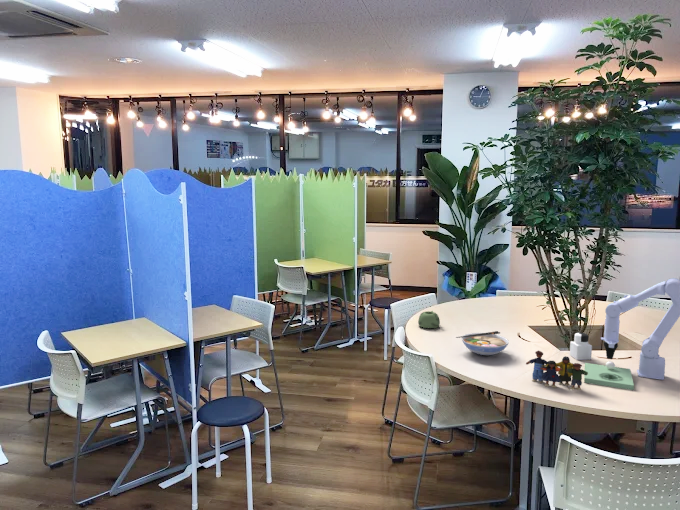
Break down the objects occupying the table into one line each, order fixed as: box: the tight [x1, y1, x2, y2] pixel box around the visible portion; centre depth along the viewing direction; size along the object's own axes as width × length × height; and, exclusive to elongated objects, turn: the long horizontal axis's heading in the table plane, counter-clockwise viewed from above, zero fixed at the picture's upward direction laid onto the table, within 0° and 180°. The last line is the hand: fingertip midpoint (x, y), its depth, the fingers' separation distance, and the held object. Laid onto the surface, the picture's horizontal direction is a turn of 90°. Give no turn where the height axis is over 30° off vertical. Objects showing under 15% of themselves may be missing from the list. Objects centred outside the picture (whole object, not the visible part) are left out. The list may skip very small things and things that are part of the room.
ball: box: [605, 360, 616, 369], centre depth 215 cm, size 4×4×4 cm
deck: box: [583, 362, 635, 391], centre depth 211 cm, size 18×20×2 cm
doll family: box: [525, 350, 588, 391], centre depth 204 cm, size 23×9×13 cm, turn 75°
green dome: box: [417, 310, 441, 329], centre depth 292 cm, size 16×13×9 cm
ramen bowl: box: [456, 330, 509, 356], centre depth 243 cm, size 25×23×8 cm
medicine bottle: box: [569, 332, 593, 361], centre depth 235 cm, size 7×7×12 cm
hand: (609, 358), depth 221 cm, fingers closed
